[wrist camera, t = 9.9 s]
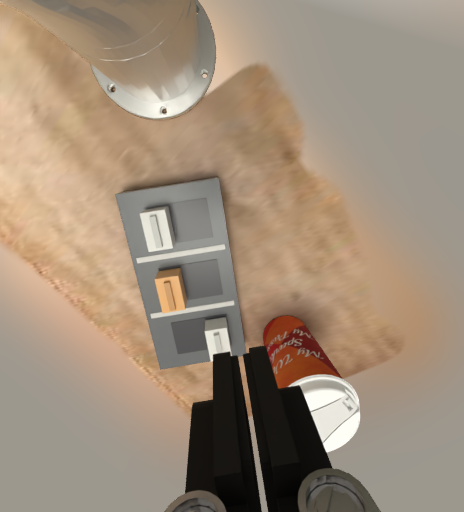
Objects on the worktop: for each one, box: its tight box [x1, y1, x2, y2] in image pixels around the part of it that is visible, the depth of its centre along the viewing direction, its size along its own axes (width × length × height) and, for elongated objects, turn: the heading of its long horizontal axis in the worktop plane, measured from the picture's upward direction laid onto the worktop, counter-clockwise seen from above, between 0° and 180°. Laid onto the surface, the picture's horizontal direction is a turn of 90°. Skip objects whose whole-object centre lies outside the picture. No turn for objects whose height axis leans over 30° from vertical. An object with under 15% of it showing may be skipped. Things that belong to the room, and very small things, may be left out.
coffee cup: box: [263, 316, 360, 452], centre depth 36 cm, size 8×8×15 cm
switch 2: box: [155, 268, 187, 313], centre depth 35 cm, size 4×2×3 cm, turn 8°
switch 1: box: [140, 206, 176, 252], centre depth 33 cm, size 4×2×3 cm, turn 8°
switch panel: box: [115, 177, 246, 370], centre depth 38 cm, size 22×11×3 cm, turn 8°
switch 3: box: [205, 317, 232, 361], centre depth 37 cm, size 4×2×3 cm, turn 8°
